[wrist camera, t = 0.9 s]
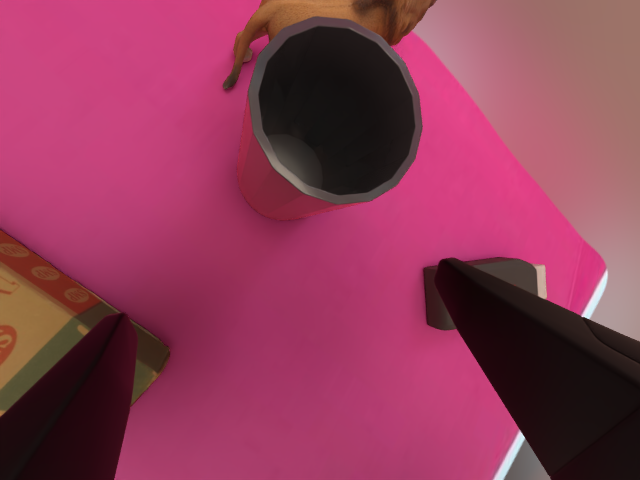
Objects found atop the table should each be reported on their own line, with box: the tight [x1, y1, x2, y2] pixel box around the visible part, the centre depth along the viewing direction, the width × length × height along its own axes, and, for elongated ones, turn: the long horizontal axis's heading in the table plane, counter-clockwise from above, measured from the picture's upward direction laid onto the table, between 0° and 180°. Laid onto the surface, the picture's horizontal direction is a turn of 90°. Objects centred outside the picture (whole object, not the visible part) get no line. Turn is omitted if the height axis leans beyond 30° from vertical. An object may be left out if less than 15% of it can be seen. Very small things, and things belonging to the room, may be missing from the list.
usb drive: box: [424, 257, 547, 330], centre depth 27 cm, size 5×12×3 cm, turn 95°
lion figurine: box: [223, 0, 436, 89], centre depth 19 cm, size 15×5×9 cm, turn 118°
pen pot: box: [237, 16, 423, 221], centre depth 17 cm, size 7×7×12 cm
